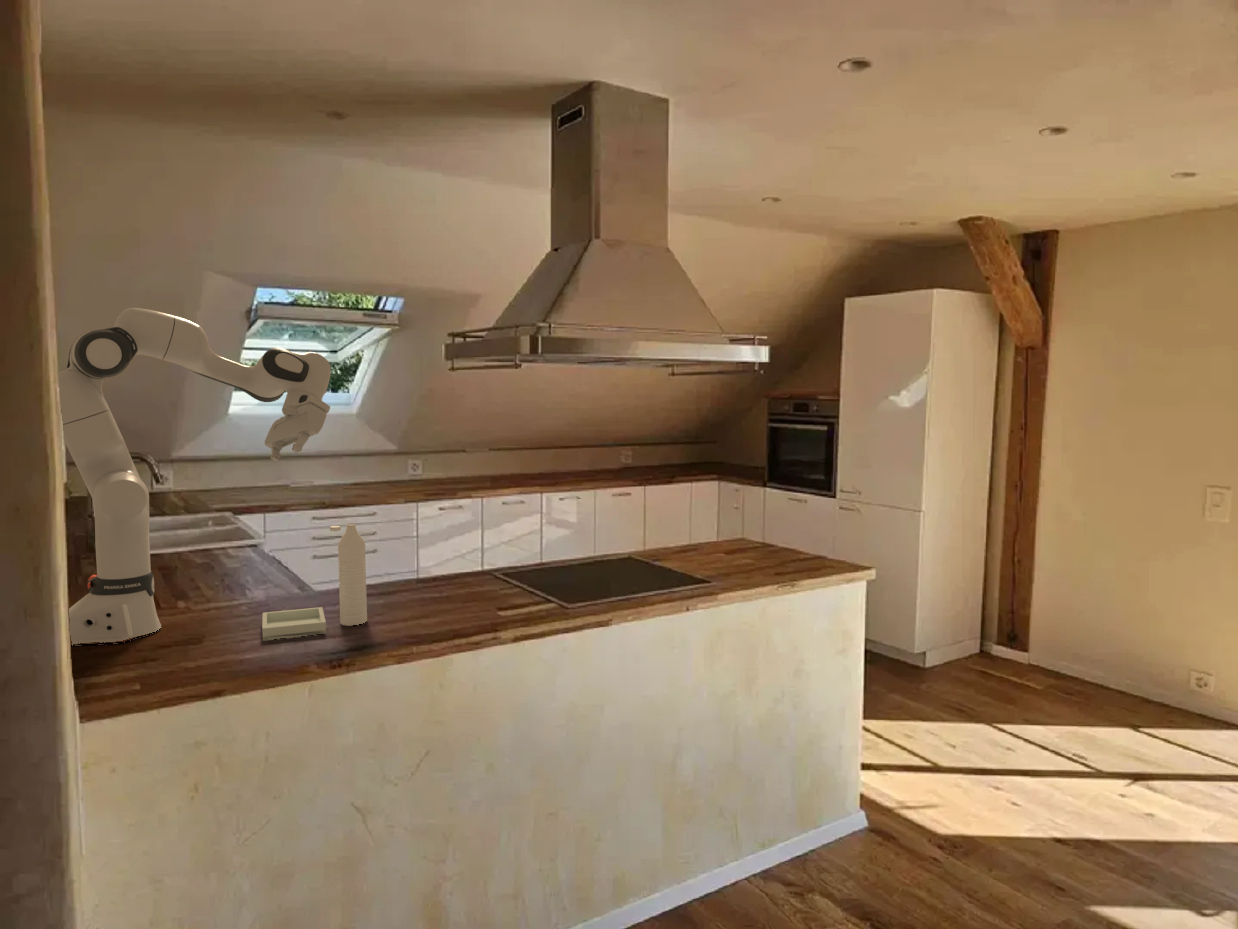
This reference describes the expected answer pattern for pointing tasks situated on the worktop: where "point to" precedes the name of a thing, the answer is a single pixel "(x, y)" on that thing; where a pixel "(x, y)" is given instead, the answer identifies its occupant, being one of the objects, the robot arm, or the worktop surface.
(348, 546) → the water bottle
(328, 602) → the worktop surface
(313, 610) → the sage tray
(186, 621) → the worktop surface
